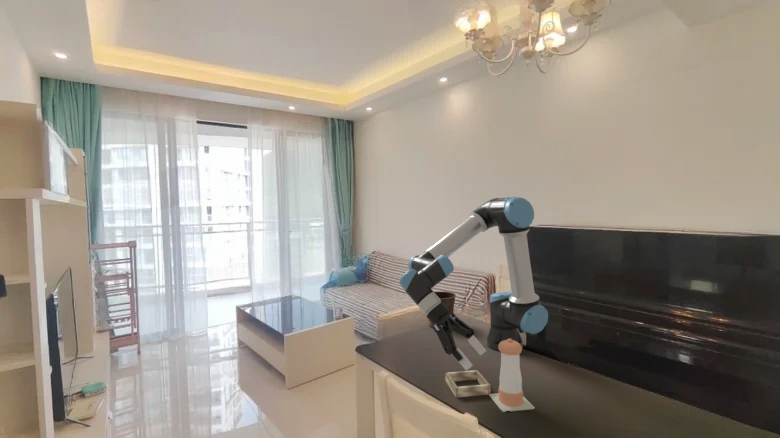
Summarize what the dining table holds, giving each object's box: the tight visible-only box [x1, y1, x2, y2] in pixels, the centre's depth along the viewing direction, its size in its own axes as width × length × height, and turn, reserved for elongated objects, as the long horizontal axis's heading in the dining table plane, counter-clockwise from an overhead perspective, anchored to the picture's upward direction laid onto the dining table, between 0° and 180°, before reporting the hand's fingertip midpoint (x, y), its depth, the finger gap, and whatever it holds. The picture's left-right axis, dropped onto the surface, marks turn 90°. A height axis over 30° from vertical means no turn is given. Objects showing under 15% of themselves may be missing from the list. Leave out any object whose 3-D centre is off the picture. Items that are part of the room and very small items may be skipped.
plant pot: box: [428, 291, 457, 329], centre depth 193 cm, size 16×16×16 cm
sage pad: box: [488, 392, 535, 413], centre depth 116 cm, size 10×10×1 cm
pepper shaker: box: [498, 339, 524, 406], centre depth 116 cm, size 7×7×19 cm
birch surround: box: [445, 369, 492, 399], centre depth 126 cm, size 12×12×3 cm
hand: (477, 360), depth 121 cm, fingers open, 13 cm apart
